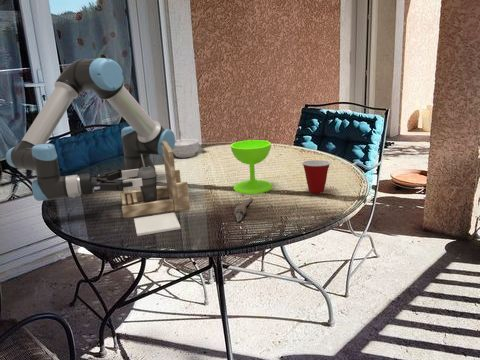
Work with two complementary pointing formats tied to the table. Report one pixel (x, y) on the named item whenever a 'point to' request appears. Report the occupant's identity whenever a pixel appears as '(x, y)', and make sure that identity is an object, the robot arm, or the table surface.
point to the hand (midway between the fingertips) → (140, 176)
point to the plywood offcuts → (129, 199)
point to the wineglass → (251, 164)
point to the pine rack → (162, 192)
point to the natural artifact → (241, 210)
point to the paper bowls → (185, 147)
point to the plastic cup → (316, 175)
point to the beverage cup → (148, 183)
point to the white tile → (156, 224)
